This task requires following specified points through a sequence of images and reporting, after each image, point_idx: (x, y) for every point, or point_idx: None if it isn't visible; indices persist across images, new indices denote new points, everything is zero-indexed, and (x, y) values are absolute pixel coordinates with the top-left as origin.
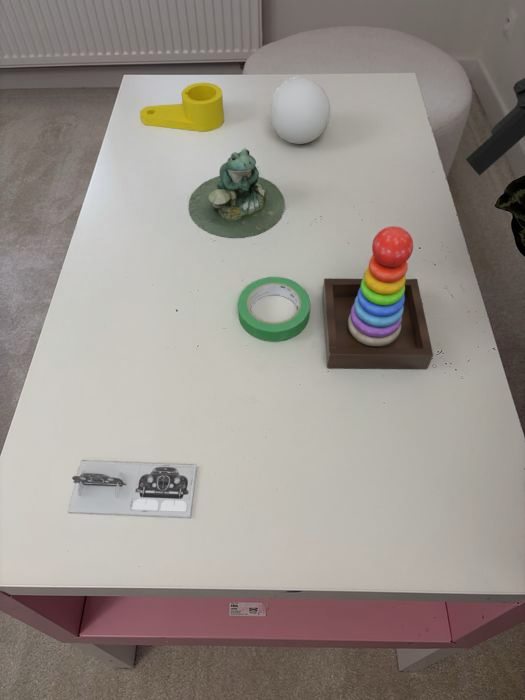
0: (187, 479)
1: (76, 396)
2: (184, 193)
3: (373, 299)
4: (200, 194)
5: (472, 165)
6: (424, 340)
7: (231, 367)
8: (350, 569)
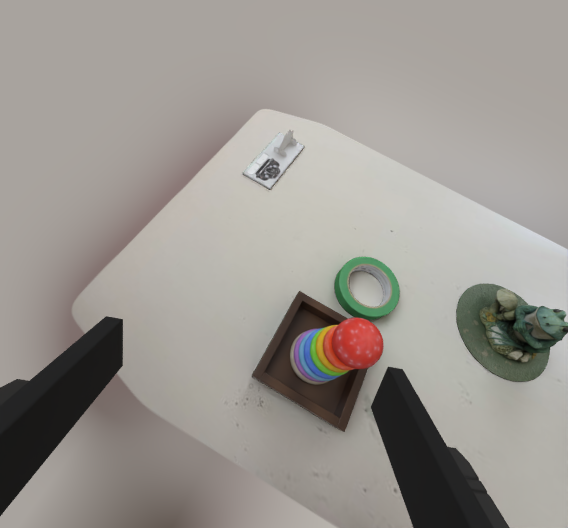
0: (264, 180)
1: (346, 159)
2: (523, 293)
3: (321, 329)
4: (520, 304)
5: (385, 377)
6: (271, 379)
7: (328, 238)
8: (159, 226)
